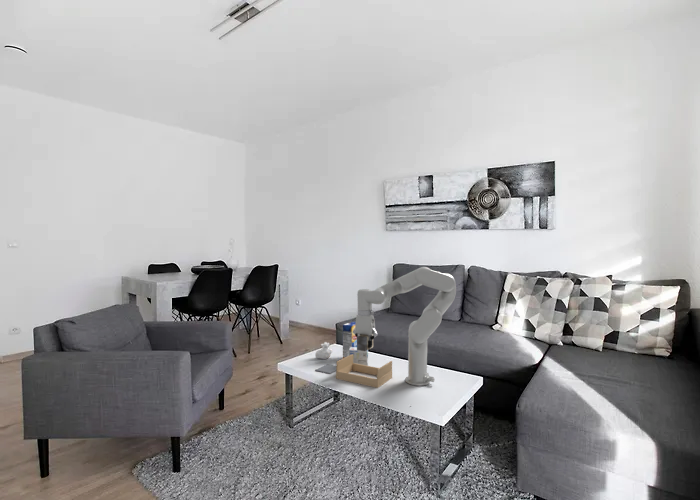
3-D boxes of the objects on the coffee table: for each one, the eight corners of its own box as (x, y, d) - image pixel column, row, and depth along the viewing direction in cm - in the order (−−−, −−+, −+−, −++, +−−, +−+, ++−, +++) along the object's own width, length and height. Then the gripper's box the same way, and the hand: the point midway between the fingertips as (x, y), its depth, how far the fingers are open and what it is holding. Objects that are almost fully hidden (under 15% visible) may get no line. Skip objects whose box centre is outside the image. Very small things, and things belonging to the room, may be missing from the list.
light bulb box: (368, 365, 233) (368, 347, 232) (367, 369, 226) (367, 350, 226) (350, 364, 234) (350, 346, 233) (348, 368, 227) (348, 349, 227)
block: (373, 347, 213) (373, 334, 213) (365, 351, 205) (365, 337, 205) (365, 345, 215) (365, 333, 215) (356, 349, 208) (356, 336, 207)
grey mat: (341, 368, 227) (341, 366, 227) (330, 374, 217) (330, 372, 217) (327, 365, 232) (327, 364, 232) (315, 370, 222) (315, 369, 222)
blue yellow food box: (342, 360, 241) (342, 324, 240) (353, 356, 250) (353, 321, 249) (351, 362, 237) (351, 326, 236) (362, 358, 246) (362, 323, 245)
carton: (392, 377, 211) (392, 361, 211) (378, 387, 197) (378, 369, 197) (352, 369, 224) (352, 354, 224) (336, 378, 210) (336, 361, 210)
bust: (316, 363, 242) (322, 351, 236) (311, 354, 246) (317, 342, 241) (332, 360, 249) (339, 348, 244) (326, 350, 254) (333, 339, 248)
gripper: (382, 313, 209) (382, 347, 209) (354, 310, 217) (354, 343, 218) (375, 315, 202) (376, 350, 203) (347, 312, 211) (347, 346, 211)
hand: (365, 346), depth 210 cm, fingers closed on block, 5 cm apart
